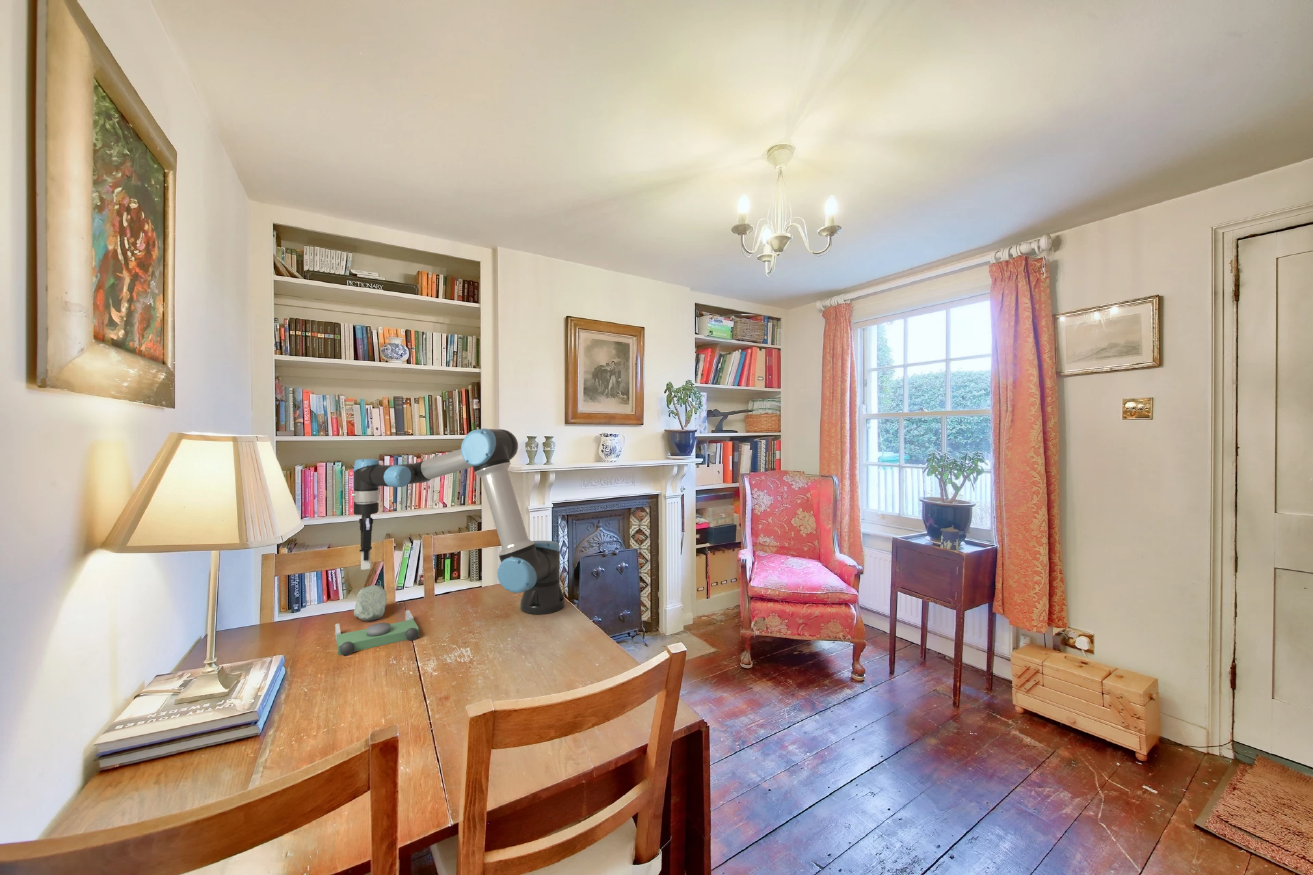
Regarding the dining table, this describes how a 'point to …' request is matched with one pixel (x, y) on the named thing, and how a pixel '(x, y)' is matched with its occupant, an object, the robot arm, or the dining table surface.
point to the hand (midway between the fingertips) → (365, 568)
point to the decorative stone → (370, 603)
